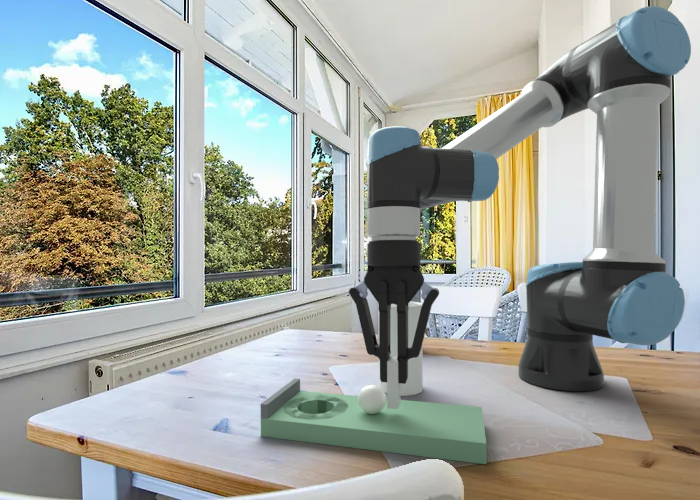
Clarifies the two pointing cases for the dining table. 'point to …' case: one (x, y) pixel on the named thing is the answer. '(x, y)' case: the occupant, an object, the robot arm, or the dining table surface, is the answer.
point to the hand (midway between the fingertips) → (394, 404)
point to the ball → (371, 399)
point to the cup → (414, 364)
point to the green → (376, 425)
